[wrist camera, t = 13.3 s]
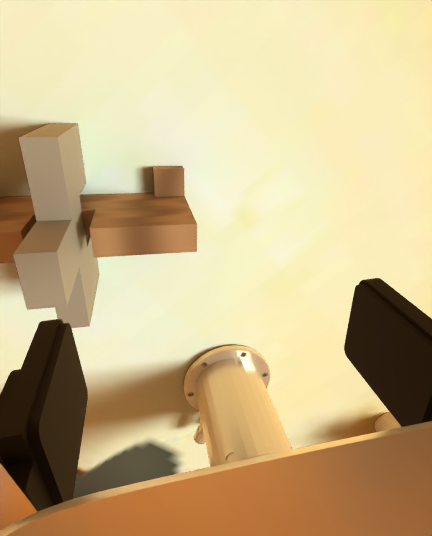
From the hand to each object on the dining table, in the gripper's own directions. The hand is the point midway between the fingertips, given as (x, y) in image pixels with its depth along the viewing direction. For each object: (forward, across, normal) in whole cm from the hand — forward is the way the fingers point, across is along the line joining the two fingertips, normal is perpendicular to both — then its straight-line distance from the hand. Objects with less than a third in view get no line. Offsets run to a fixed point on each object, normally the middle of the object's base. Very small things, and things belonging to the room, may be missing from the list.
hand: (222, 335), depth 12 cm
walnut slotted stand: (+29, +9, +4) cm, 30 cm away
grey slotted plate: (+29, +9, +4) cm, 30 cm away
